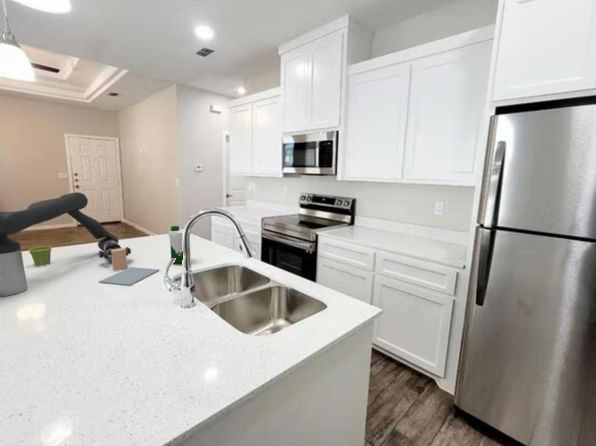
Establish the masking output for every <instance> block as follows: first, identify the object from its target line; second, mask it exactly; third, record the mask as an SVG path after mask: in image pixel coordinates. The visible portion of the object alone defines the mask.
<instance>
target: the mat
mask: <svg viewBox="0 0 596 446" xmlns="http://www.w3.org/2000/svg"><path fill="white" fill-rule="evenodd" d="M158 272H160V269H156V268H147V267H136V266H135V267H134V266H131V267H127V269H123V270H121V271H119V272H117V273H115V274H113V275H110V276H108V277H105V278H104V279H100V280H99V281H98V283H99V284H101V283H102V284H108V285H116V284H117V285H119V286H128V287H132V285H135V284H137V283H138V282H140V281H143V280H144V279H147V278H149V277H150V276H152V275H154V274H156V273H158ZM117 285H116V286H117Z"/></svg>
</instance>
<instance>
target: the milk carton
mask: <svg viewBox="0 0 596 446" xmlns="http://www.w3.org/2000/svg"><path fill="white" fill-rule="evenodd" d="M183 229H184V228H180V226H179V225H173V226H171V227H170V230H169V231H167V233H168V237H169V243H170V244H169V245H170V260H171V259H172V258H176V260H175V262H174V263H173V264H172V265H177V266H183V265H182V260H183V251H182V231H183Z"/></svg>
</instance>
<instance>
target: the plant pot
mask: <svg viewBox="0 0 596 446" xmlns="http://www.w3.org/2000/svg"><path fill="white" fill-rule="evenodd" d="M52 248H53V247H52V246H49V245H48V246H47V245H45V246H37V247H36V246H35V247H33V248H29V249H28V252H29V254H30V255H31V258H32V261H33V264H34V266H35V267H42V266H48V265H50V264H51V257H52V256H51V253H52ZM47 264H48V265H47Z"/></svg>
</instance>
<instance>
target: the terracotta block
mask: <svg viewBox="0 0 596 446" xmlns="http://www.w3.org/2000/svg"><path fill="white" fill-rule="evenodd" d="M121 248H122V247H121ZM110 258H111V263H112V270H113V271H114V270H116V271H120V270H119V269H122V270H126V269H125V268H127V269H128V262H127V261H128V260H127V256H126V247H123V248H122V249H114V250H111V257H110Z"/></svg>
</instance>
